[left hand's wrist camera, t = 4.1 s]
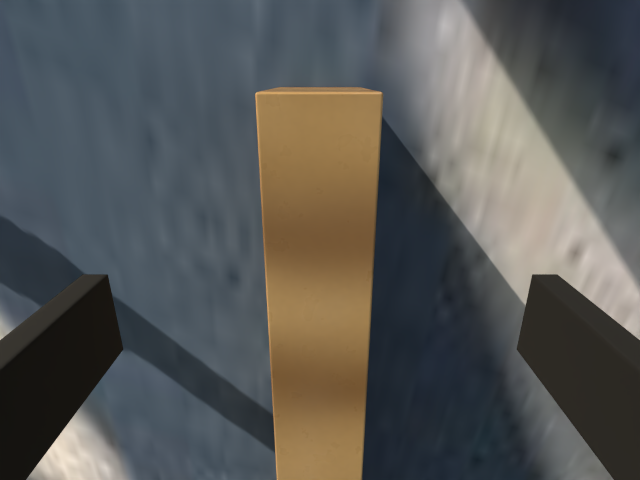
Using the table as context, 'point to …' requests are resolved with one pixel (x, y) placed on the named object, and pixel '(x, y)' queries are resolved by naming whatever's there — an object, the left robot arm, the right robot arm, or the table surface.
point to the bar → (319, 270)
